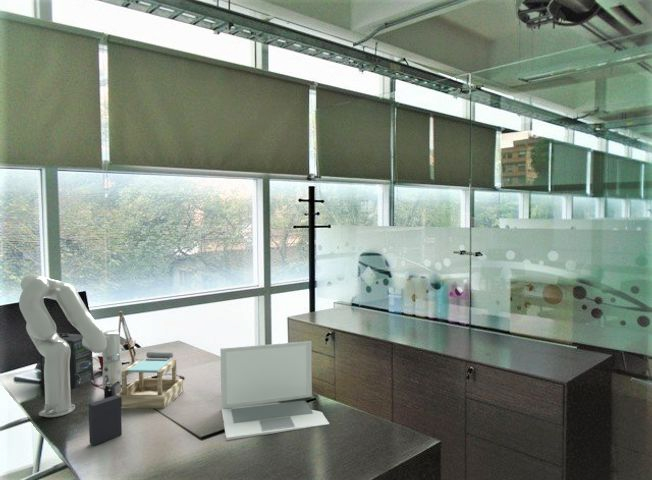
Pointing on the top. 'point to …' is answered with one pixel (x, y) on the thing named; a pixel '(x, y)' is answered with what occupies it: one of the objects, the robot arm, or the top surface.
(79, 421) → the top surface
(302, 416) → the laptop
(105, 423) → the calculator
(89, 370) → the headset box
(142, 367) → the hatch
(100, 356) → the plastic cup
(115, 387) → the basalt block
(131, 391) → the tan crate frame
